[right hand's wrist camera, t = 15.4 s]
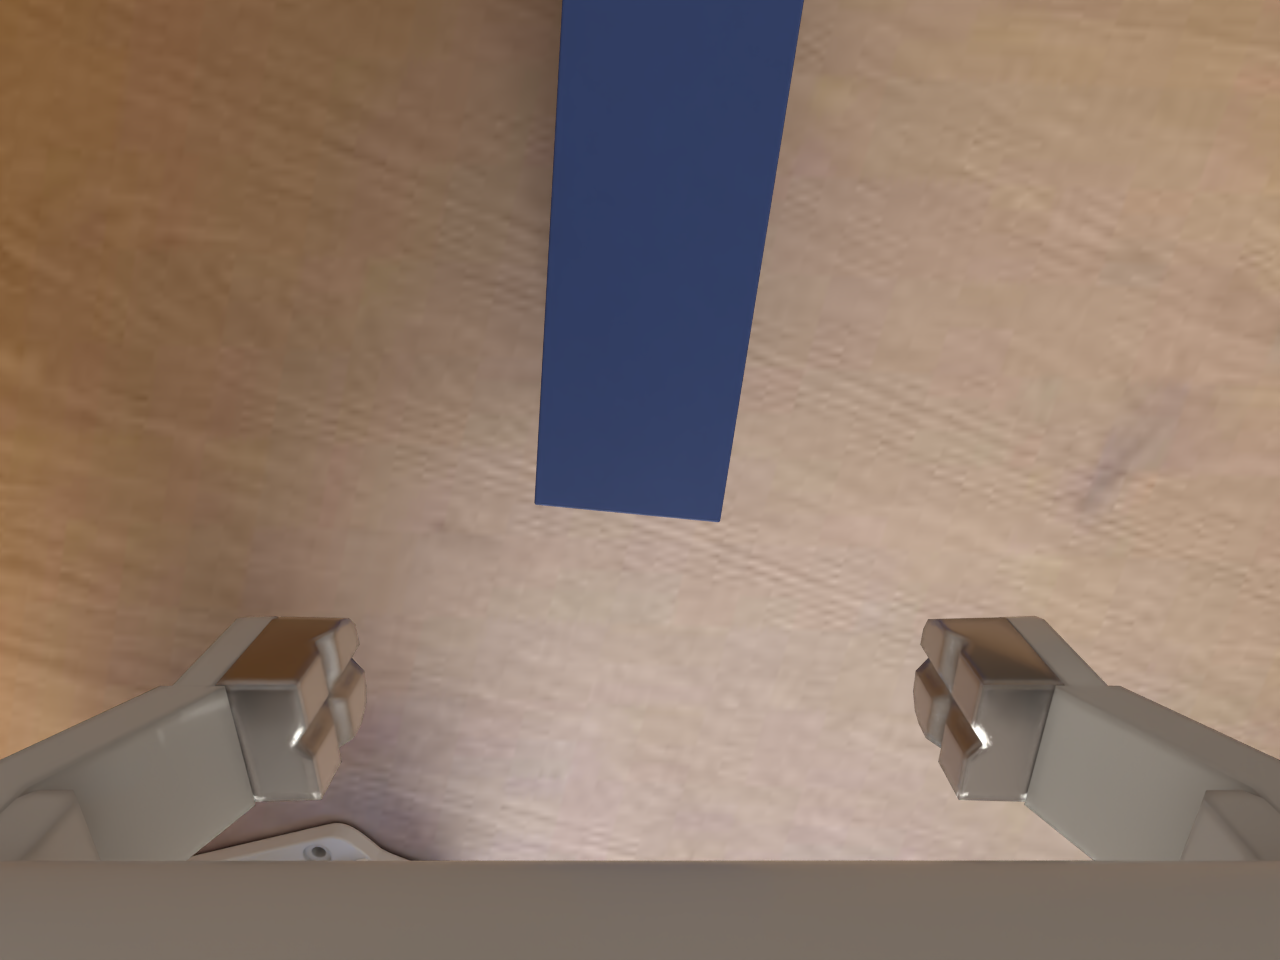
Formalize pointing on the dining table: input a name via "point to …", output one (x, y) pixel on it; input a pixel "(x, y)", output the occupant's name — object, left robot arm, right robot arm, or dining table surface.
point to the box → (657, 245)
